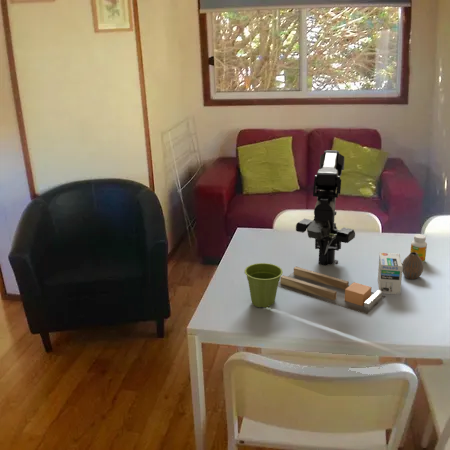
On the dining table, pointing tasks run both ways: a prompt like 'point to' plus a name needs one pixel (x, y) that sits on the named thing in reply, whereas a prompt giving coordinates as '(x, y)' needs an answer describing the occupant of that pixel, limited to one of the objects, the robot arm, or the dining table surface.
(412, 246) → the supplement bottle
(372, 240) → the dining table surface
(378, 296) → the stop bar
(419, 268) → the vase
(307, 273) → the chute
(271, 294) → the plant pot
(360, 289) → the orange block
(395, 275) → the light bulb box
